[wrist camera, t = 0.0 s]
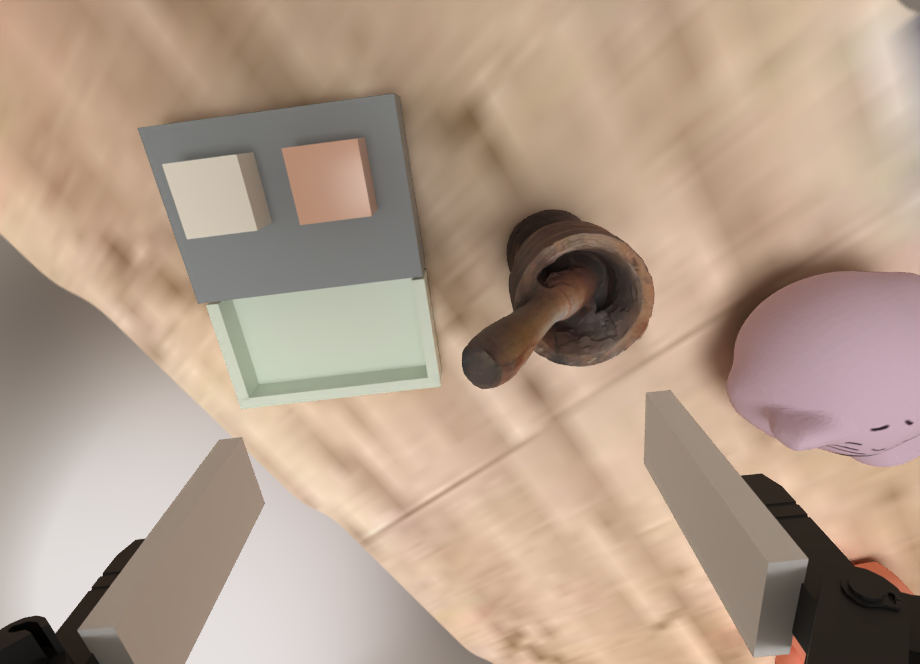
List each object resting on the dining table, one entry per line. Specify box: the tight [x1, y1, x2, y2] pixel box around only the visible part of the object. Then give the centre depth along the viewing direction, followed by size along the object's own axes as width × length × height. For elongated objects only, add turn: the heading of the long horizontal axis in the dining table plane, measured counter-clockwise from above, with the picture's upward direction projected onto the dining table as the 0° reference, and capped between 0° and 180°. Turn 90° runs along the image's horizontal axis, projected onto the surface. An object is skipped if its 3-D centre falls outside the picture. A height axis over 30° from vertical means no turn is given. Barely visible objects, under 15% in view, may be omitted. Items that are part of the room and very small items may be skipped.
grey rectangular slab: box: [138, 94, 425, 304], centre depth 38 cm, size 13×18×4 cm
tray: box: [206, 269, 442, 409], centre depth 43 cm, size 10×18×3 cm, turn 97°
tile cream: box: [162, 152, 272, 239], centre depth 35 cm, size 5×5×3 cm
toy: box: [726, 271, 920, 467], centre depth 39 cm, size 16×16×15 cm
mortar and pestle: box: [462, 210, 654, 389], centre depth 33 cm, size 12×9×20 cm
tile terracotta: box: [281, 137, 378, 225], centre depth 34 cm, size 5×5×3 cm
